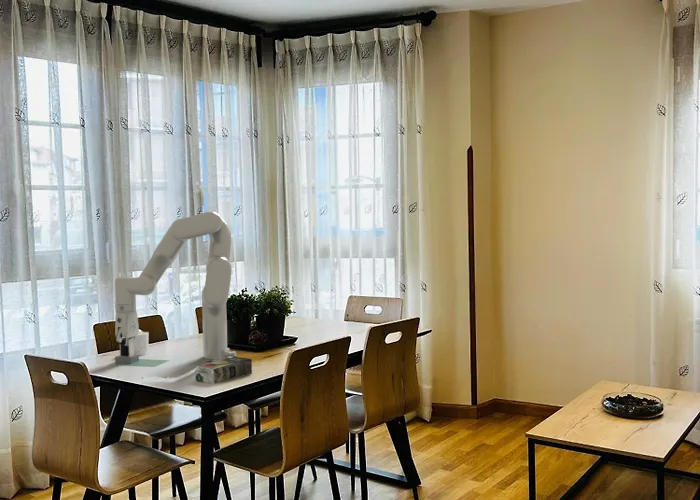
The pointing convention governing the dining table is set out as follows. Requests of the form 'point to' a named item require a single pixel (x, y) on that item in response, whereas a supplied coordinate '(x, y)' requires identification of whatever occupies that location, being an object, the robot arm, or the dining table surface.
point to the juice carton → (224, 369)
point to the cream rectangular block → (131, 348)
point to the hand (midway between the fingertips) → (127, 354)
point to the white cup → (141, 343)
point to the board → (136, 361)
